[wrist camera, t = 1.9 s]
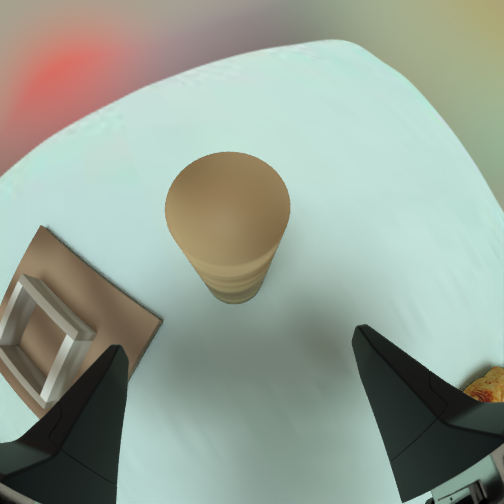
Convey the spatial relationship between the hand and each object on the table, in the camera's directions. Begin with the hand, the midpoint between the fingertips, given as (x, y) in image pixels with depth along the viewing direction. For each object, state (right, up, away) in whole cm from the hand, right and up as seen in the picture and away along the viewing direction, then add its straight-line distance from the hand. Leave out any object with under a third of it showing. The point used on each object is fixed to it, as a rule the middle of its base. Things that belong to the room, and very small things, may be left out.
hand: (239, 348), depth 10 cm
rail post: (-1, +2, +12) cm, 13 cm away
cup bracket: (-17, -5, +10) cm, 21 cm away
